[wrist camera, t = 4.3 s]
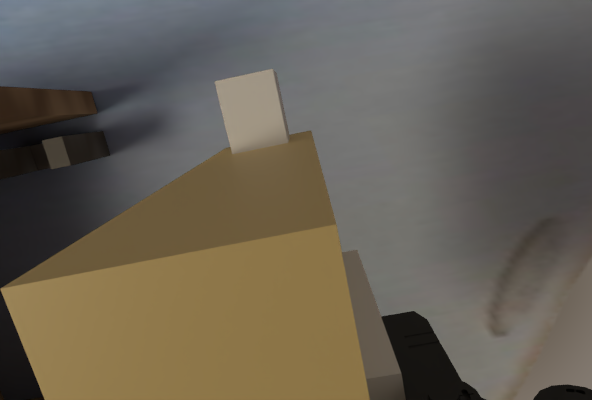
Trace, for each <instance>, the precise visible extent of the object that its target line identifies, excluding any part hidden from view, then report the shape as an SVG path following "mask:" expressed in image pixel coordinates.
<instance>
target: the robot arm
mask: <svg viewBox="0 0 592 400" xmlns="http://www.w3.org/2000/svg"><path fill="white" fill-rule="evenodd" d="M342 257H343V262H344V267H345V272H346V277H347V283H348V288H349V293H350V298H351V304H352V309H353V314H354V319H355V324H356V330H357V335H358V340H359V345H360V351H361V356H362V361H363V366H364V372H365V377H366V382H367V387H368V392H369V398H370V400H485V399H483V398H481V397H480V395H479V394H478V392H477V391H476V389H474V388H473V387H471V386H470V385H468V384H467V383H465V382H462V381H461V379H460V377H459V375H458V373H457V372H456V370H455V368H454V366H453V365H452V363H451V361H450V359H449V358H448V356H447V354H446V352H445V350H444V349H443V347H442V345H441V344H440V342H439V340H438V338H437V336H436V335H435V334H434V331H433V329H432V327H431V326H430V324H429V322H428V320H427V319H425V318H424V317H422V316H421V315H419V314H418V313H416V312H414V311H411V312H406V313H400V314H394V315H388V316H382V317H381V315H380V312H379V309H378V307H377V304H376V301H375V298H374V296H373V293H372V290H371V287H370V284H369V282H368V279H367V276H366V273H365V271H364V268H363V265H362V262H361V259H360V257H359V254H358V251H357V250H353V251H348V252H342ZM534 400H592V390H591V389H588V388H585V387H580V386H573V385H557V386H550V387H548V388H546V389H543V390H541V391H539V393H538V394H537V395H536V396H535V398H534Z"/></svg>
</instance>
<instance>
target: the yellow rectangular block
mask: <svg viewBox="0 0 592 400" xmlns="http://www.w3.org/2000/svg"><path fill="white" fill-rule="evenodd" d="M215 85H216V90H217V94H218V98H219V102H220V106H221V110H222V114H223V118H224V123H225V127H226V131H227V135H228V139H229V143H230V147H229V148H225V149H224V150H222V151H220V152H219V153H217V154H216V155H214V156H212V157H211V158H209V159H208V160H206V161H204V162H203V163H201V164H200V165H198V166H196V167H195V168H193V169H192V170H190V171H188V172H187V173H185V174H184V175H182V176H180V177H179V178H177V179H176V180H174V181H172V182H171V183H169V184H168V185H166V186H164V187H163V188H161V189H159V190H158V191H156V192H155V193H153V194H151V195H150V196H148V197H147V198H145V199H143V200H142V201H140V202H139V203H137V204H135V205H134V206H132V207H131V208H129V209H127V210H126V211H124V212H123V213H121V214H119V215H118V216H116V217H115V218H113V219H111V220H110V221H108V222H107V223H105V224H103V225H102V226H100V227H99V228H97V229H95V230H94V231H92V232H91V233H89V234H87V235H86V236H84V237H82V238H81V239H79V240H78V241H76V242H74V243H73V244H71V245H70V246H68V247H66V248H65V249H63V250H62V251H60V252H58V253H57V254H55V255H54V256H52V257H50V258H49V259H47V260H46V261H44V262H42V263H41V264H39V265H38V266H36V267H34V268H33V269H31V270H30V271H28V272H26V273H25V274H23V275H22V276H20V277H18V278H17V279H15V280H13V281H12V282H10V283H9V284H7V285H5V286H4V287H2V288H1V289H0V290H1V292H2V295H3V297H4V300H5V302H6V305H7V307H8V310H9V312H10V315H11V317H12V320H13V322H14V324H15V327H16V329H17V332H18V334H19V337H20V339H21V342H22V344H23V347H24V349H25V352H26V354H27V357H28V359H29V362H30V364H31V367H32V369H33V372H34V374H35V377H36V379H37V382H38V384H39V387H40V389H41V392H42V394H43V396H44V399H45V400H370V398H369V392H368V387H367V382H366V377H365V372H364V366H363V361H362V356H361V351H360V345H359V340H358V335H357V330H356V324H355V319H354V314H353V309H352V304H351V298H350V293H349V288H348V283H347V277H346V272H345V267H344V262H343V257H342V251H341V246H340V241H339V236H338V230H337V225H336V221H335V218H334V214H333V210H332V206H331V203H330V199H329V195H328V192H327V188H326V184H325V180H324V177H323V173H322V169H321V166H320V162H319V158H318V155H317V151H316V147H315V143H314V140H313V136H312V132H311V131H306V132H301V133H296V134H291V135H289V131H288V126H287V121H286V117H285V112H284V107H283V102H282V97H281V92H280V88H279V83H278V78H277V73H276V72H275V71H274V70H273V69H270V70H265V71H260V72H256V73H251V74H247V75H242V76H237V77H233V78H228V79H224V80H219V81H215Z"/></svg>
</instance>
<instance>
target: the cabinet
mask: <svg viewBox="0 0 592 400" xmlns="http://www.w3.org/2000/svg"><path fill="white" fill-rule="evenodd" d="M92 114H97V109H96V106H95V103H94V99H93V96H92V93H91V92H88V91H71V90H53V89H36V88H18V87H1V86H0V134H3V133H8V132H13V131H17V130H22V129H27V128H31V127H36V126H41V125H46V124H50V123H55V122H60V121H64V120H69V119H74V118H78V117H83V116H88V115H92ZM106 156H110V153H109V149H108V146H107V143H106V139H105V136H104V133H103V131H100V132H92V133H84V134H76V135H69V136H61V137H56V138H52V139H47V140H42V143H41V144H37V145H32V146H26V147H20V148H13V149H6V150H0V179H5V178H9V177H13V176H17V175H21V174H25V173H29V172H33V171H38V170H42V169H47V168H51V169H56V168H60V167H65V166H70V165H74V164H78V163H82V162H86V161H90V160H94V159H98V158H102V157H106ZM0 400H4V399H3V396H2V394H1V391H0ZM28 400H45V399H44V397H40V398H34V399H28Z"/></svg>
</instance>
